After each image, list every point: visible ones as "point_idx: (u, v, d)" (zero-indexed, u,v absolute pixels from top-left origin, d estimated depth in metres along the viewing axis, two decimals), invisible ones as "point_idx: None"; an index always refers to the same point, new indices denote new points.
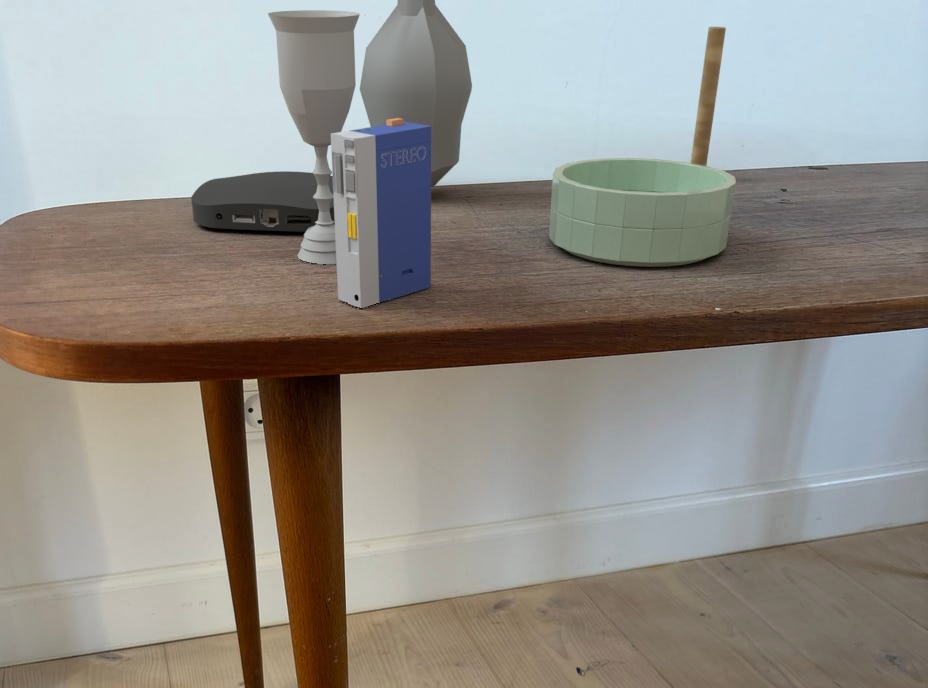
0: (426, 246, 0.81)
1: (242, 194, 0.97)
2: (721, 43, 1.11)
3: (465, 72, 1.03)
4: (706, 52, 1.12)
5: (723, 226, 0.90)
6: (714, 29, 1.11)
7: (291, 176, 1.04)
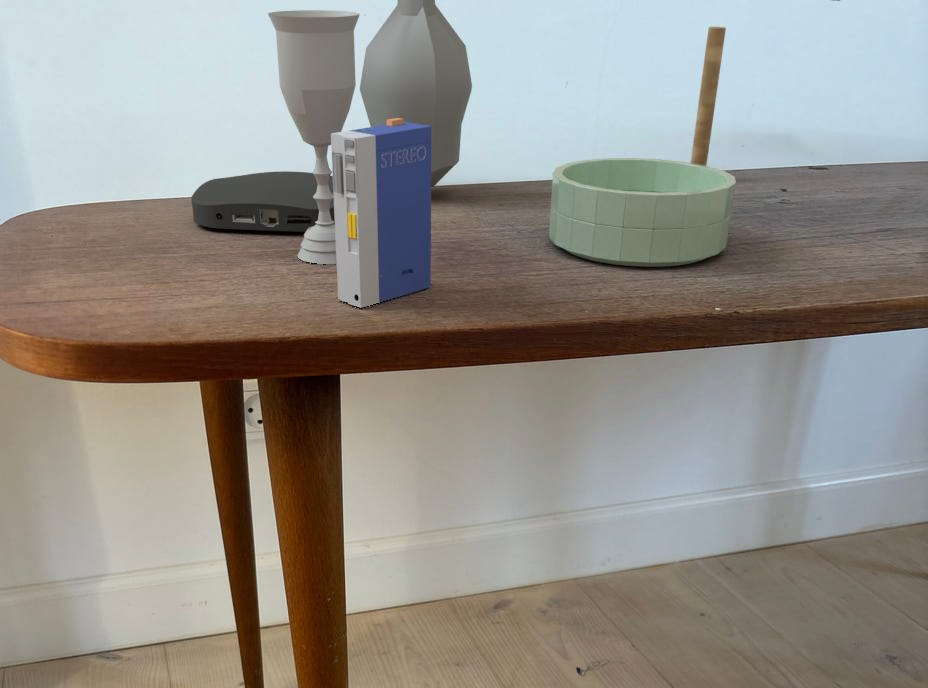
0: (426, 246, 0.81)
1: (242, 194, 0.97)
2: (721, 43, 1.11)
3: (465, 72, 1.03)
4: (706, 52, 1.12)
5: (723, 226, 0.90)
6: (714, 29, 1.11)
7: (291, 176, 1.04)
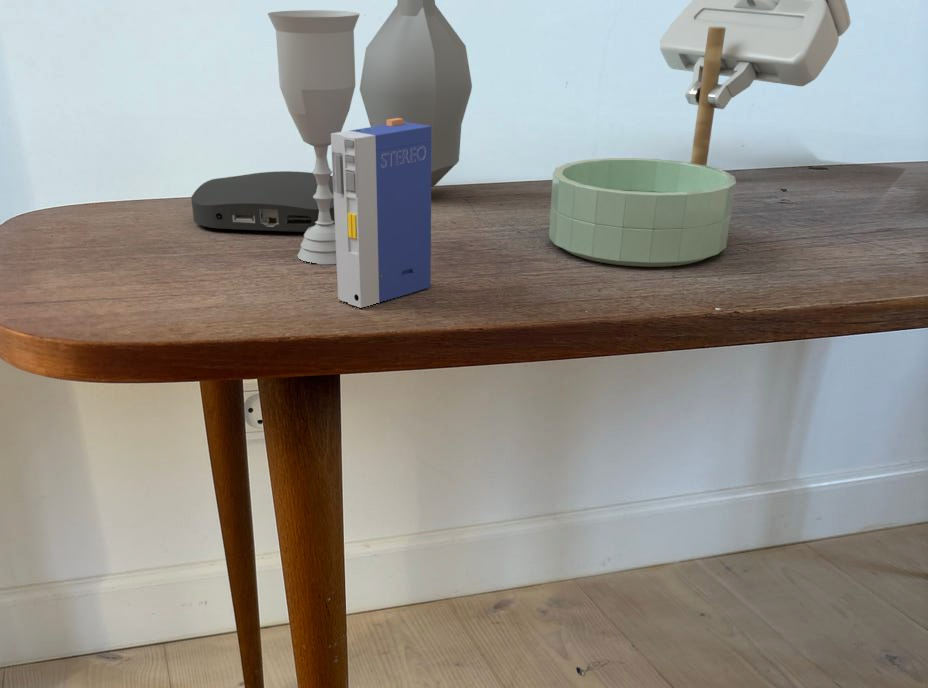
0: (426, 246, 0.81)
1: (242, 194, 0.97)
2: (721, 42, 1.11)
3: (465, 72, 1.03)
4: (706, 52, 1.12)
5: (723, 226, 0.90)
6: (714, 29, 1.11)
7: (291, 176, 1.04)
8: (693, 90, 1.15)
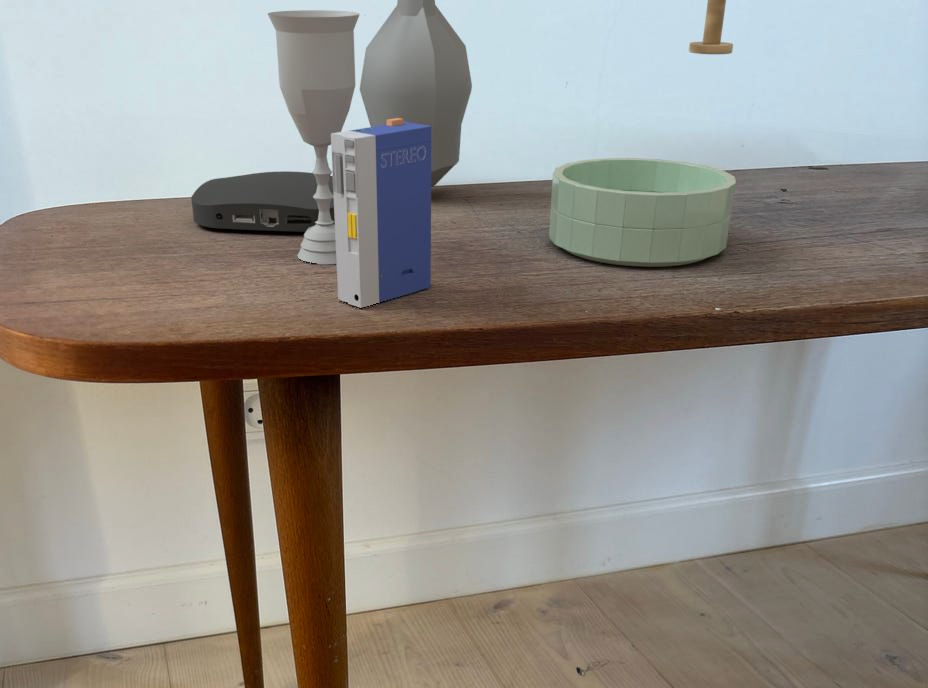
0: (426, 246, 0.81)
1: (242, 194, 0.97)
2: None
3: (465, 72, 1.03)
4: None
5: (723, 226, 0.90)
6: None
7: (291, 176, 1.04)
8: None
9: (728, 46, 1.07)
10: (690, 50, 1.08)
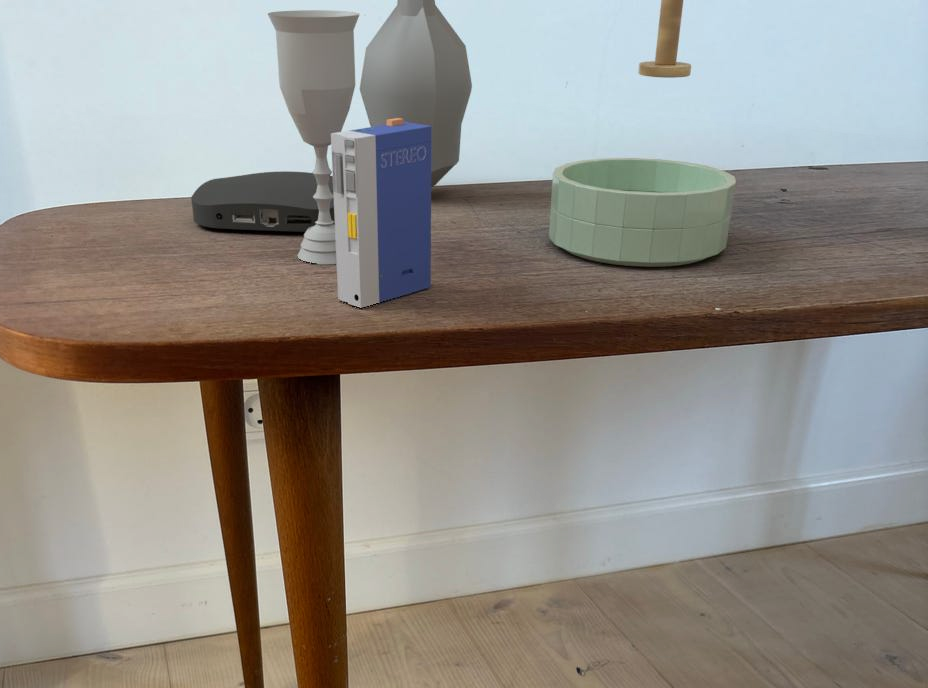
0: (426, 246, 0.81)
1: (242, 194, 0.97)
2: None
3: (465, 72, 1.03)
4: None
5: (723, 226, 0.90)
6: None
7: (291, 176, 1.04)
8: None
9: (685, 68, 0.88)
10: (640, 72, 0.90)
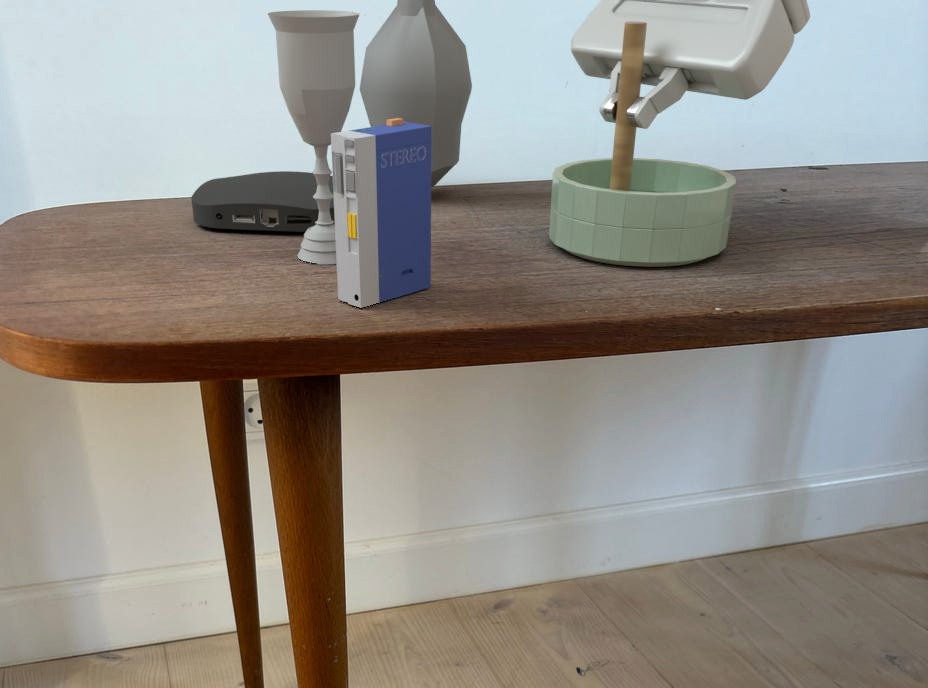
0: (426, 246, 0.81)
1: (242, 194, 0.97)
2: (641, 42, 0.85)
3: (465, 72, 1.03)
4: (622, 55, 0.86)
5: (723, 226, 0.90)
6: (631, 25, 0.85)
7: (291, 176, 1.04)
8: (609, 104, 0.89)
9: None
10: None
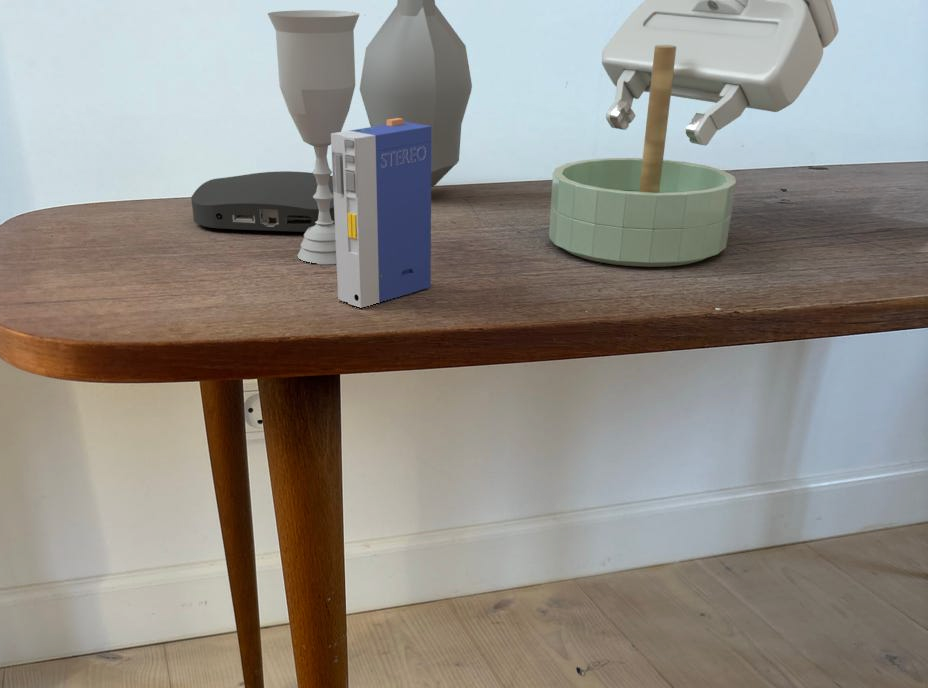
0: (426, 246, 0.81)
1: (242, 194, 0.97)
2: (670, 65, 0.88)
3: (465, 72, 1.03)
4: (652, 77, 0.89)
5: (723, 226, 0.90)
6: (661, 48, 0.87)
7: (291, 176, 1.04)
8: (616, 111, 0.93)
9: None
10: None
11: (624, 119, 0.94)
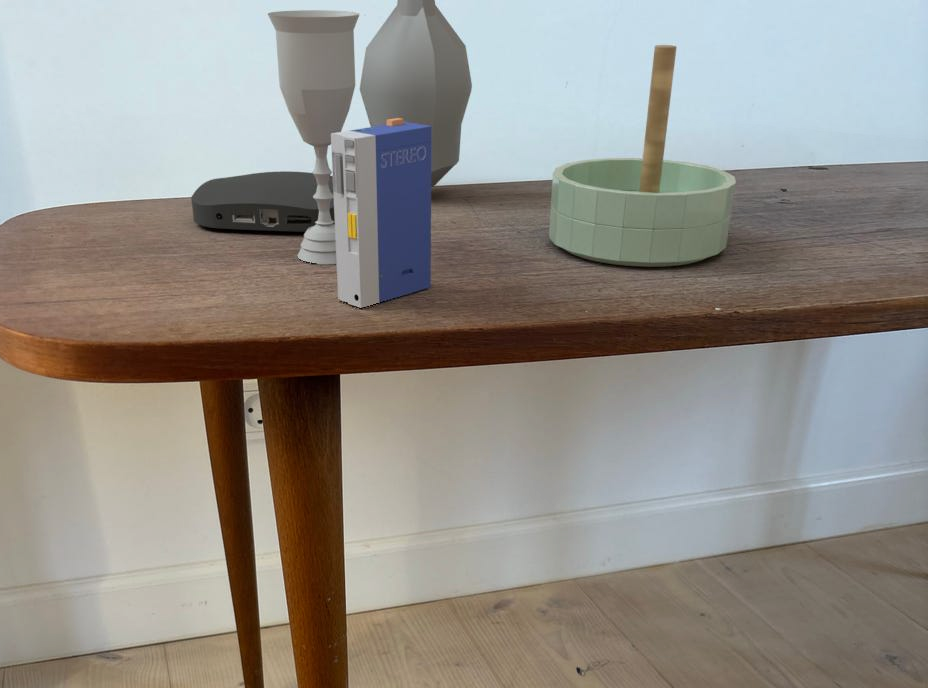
0: (426, 246, 0.81)
1: (242, 194, 0.97)
2: (670, 65, 0.88)
3: (465, 72, 1.03)
4: (652, 77, 0.89)
5: (723, 226, 0.90)
6: (661, 48, 0.87)
7: (291, 176, 1.04)
8: None
9: None
10: None
11: None
